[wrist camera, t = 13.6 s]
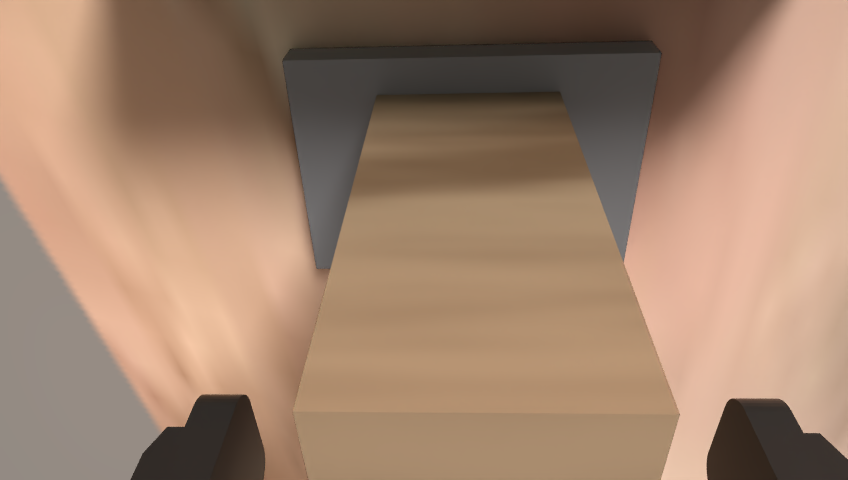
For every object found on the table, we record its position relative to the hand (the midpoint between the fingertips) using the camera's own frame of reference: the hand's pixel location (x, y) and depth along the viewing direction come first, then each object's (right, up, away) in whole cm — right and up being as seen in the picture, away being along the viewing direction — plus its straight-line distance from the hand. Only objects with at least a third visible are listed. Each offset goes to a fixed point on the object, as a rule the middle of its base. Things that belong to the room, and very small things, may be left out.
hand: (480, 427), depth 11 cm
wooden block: (0, +5, +8) cm, 9 cm away
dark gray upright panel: (0, +6, +9) cm, 10 cm away
